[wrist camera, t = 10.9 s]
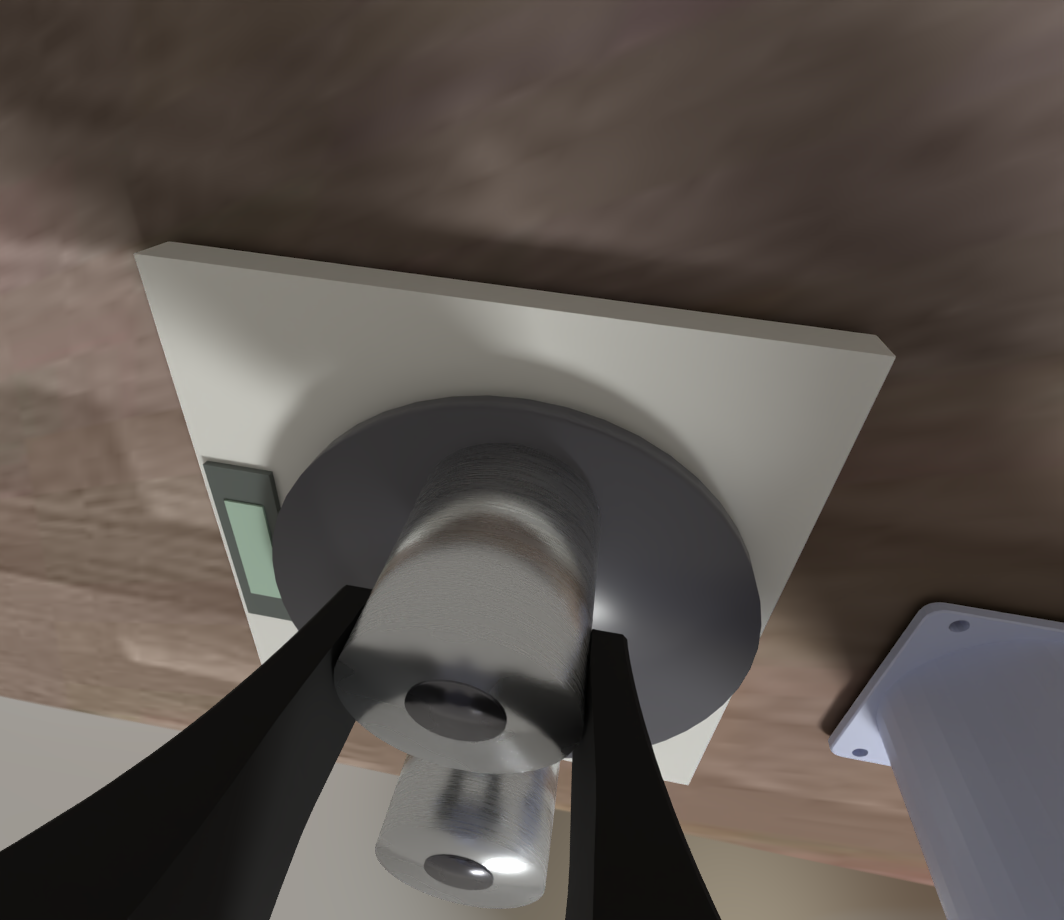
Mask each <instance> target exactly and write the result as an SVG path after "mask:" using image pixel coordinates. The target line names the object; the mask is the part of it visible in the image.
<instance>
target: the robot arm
mask: <svg viewBox="0 0 1064 920" xmlns="http://www.w3.org/2000/svg"><path fill="white" fill-rule="evenodd" d="M372 590H373V589H368V588H363V587H357V586H352V585H345V586H344V587H342V588H341V589H340V590H339V591H338V592H337V593H336V594H335V595H334V596H333V597H332V598H331V599H330V600H329V601H328V602H327V603H326V604H325V605H324V606H323V607H322V608H321V609H320V610H319V611H318V612H317V613H316V614H315V615H314V616H313V617H312V618H311V619H310V620H309V621H308V622H307V623H306V624H305V625H304V626H303V627H302V628H301V629H300V630H299V631H298V632H297V633H296V634H295V635H294V636H293V637H291V638H290V639H289V640H288V641H287V642H286V643H285V644H284V645H283V646H282V647H281V648H280V649H279V650H277V651H276V652H275V653H274V654H273V655H272V656H271V657H270V658H269V659H268V660H267V661H265V662H264V663H263V664H262V665H261V666H260V667H259V668H258V669H257V670H256V671H254V672H253V673H252V674H251V675H250V676H249V677H248V678H246V679H245V680H244V681H243V682H242V683H240V684H239V685H238V686H237V687H236V688H235V689H233V690H232V691H231V692H230V693H229V694H227V695H226V696H225V697H224V698H223V699H222V700H220V701H219V702H218V703H217V704H216V705H215V706H213V707H212V708H211V709H210V710H208V711H207V712H206V713H205V714H203V715H202V716H201V717H200V718H198V719H197V720H196V721H195V722H193V723H192V724H191V725H189V726H188V727H187V728H186V729H184V730H183V731H182V732H180V733H179V734H178V735H176V736H175V737H174V738H172V739H171V740H170V741H168V742H167V743H166V744H164V745H163V746H162V747H160V748H159V749H158V750H156V751H155V752H153V753H152V754H151V755H149V756H148V757H146V758H145V759H143V760H142V761H141V762H139V763H138V764H136V765H135V766H134V767H132V768H131V769H129V770H128V771H126V772H125V773H123V774H122V775H121V776H119V777H118V778H116V779H115V780H114V781H112V782H111V783H109V784H107V785H106V786H105V787H103V788H101V789H100V790H98V791H97V792H95V793H94V794H92V795H91V796H89V797H88V798H86V799H85V800H83V801H82V802H80V803H79V804H77V805H75V806H74V807H72V808H70V809H69V810H67V811H66V812H64V813H62V814H61V815H59V816H57V817H56V818H54V819H53V820H51V821H49V822H48V823H46V824H45V825H43V826H41V827H40V828H38V829H36V830H35V831H33V832H32V833H30V834H28V835H27V836H25V837H24V838H22V839H20V840H19V841H17V842H15V843H14V844H12V845H11V846H9V847H7V848H5V849H4V850H2V851H0V920H269V919H270V917H271V914H272V911H273V908H274V906H275V903H276V900H277V897H278V895H279V892H280V889H281V887H282V884H283V881H284V879H285V876H286V874H287V871H288V868H289V866H290V863H291V861H292V858H293V855H294V853H295V850H296V847H297V845H298V842H299V840H300V837H301V835H302V832H303V830H304V828H305V825H306V823H307V821H308V819H309V816H310V814H311V812H312V810H313V807H314V806H315V803H316V801H317V799H318V797H319V795H320V793H321V791H322V789H323V787H324V785H325V783H326V781H327V778H328V777H329V775H330V772H331V770H332V768H333V766H334V764H335V762H336V760H337V758H338V756H339V754H340V752H341V750H342V748H343V746H344V744H345V742H346V740H347V737H348V735H349V733H350V731H351V729H352V727H353V725H354V723H355V721H356V720H355V719H354V718H353V716H352V715H351V714H350V713H349V712H348V711H347V709H346V708H345V707H344V705H343V704H342V702H341V700H340V698H339V697H338V695H337V692H336V689H335V686H334V677H333V675H334V668H335V665H336V663H337V661H338V658H339V656H340V654H341V652H342V650H343V648H344V646H345V644H346V642H347V640H348V638H349V636H350V634H351V632H352V630H353V628H354V626H355V624H356V622H357V620H358V618H359V616H360V614H361V612H362V610H363V608H364V606H365V604H366V602H367V600H368V598H369V596H370V594H371V592H372ZM828 743H829V746H830V749H831V752H833V753H834V754H836V755H838V756H841V757H846V758H852V759H857V760H862V761H867V762H872V763H877V764H883V765H888V766H891V767H892V769H893V772H894V775H895V778H896V780H897V783H898V786H899V789H900V791H901V794H902V797H903V800H904V802H905V805H906V808H907V811H908V813H909V816H910V819H911V822H912V824H913V827H914V830H915V833H916V835H917V838H918V841H919V844H920V846H921V849H922V852H923V855H924V857H925V860H926V863H927V866H928V868H929V871H930V874H931V877H932V879H933V882H934V885H935V888H936V890H937V893H938V896H939V898H940V901H941V904H942V907H943V910H944V912H945V915H946V917H947V920H1064V623H1062V622H1056V621H1051V620H1045V619H1039V618H1033V617H1027V616H1021V615H1015V614H1009V613H1003V612H997V611H991V610H985V609H980V608H974V607H968V606H962V605H956V604H950V603H944V602H935V603H930V604H927V605H925V606H923V607H922V608H921V609H920V610H919V611H918V613H917V614H916V615H915V617H914V618H913V620H912V621H911V622H910V624H909V625H908V627H907V628H906V630H905V631H904V632H903V634H902V635H901V637H900V638H899V639H898V641H897V642H896V644H895V645H894V647H893V648H892V649H891V651H890V652H889V654H888V655H887V656H886V658H885V659H884V661H883V662H882V664H881V665H880V666H879V668H878V669H877V671H876V672H875V673H874V675H873V676H872V678H871V679H870V681H869V682H868V683H867V685H866V686H865V688H864V689H863V690H862V692H861V693H860V695H859V696H858V698H857V699H856V700H855V702H854V703H853V705H852V706H851V707H850V709H849V710H848V712H847V713H846V715H845V716H844V717H843V719H842V720H841V722H840V723H839V724H838V726H837V727H836V729H835V730H834V732H833V733H832V734H831V736H830V737H829V740H828ZM565 920H721V918H720V916H719V914H718V912H717V910H716V908H715V905H714V903H713V901H712V899H711V897H710V894H709V892H708V890H707V888H706V885H705V883H704V881H703V879H702V877H701V874H700V872H699V870H698V868H697V865H696V863H695V860H694V858H693V856H692V854H691V851H690V848H689V846H688V844H687V842H686V839H685V837H684V834H683V831H682V829H681V826H680V824H679V821H678V819H677V816H676V814H675V811H674V808H673V806H672V803H671V800H670V797H669V795H668V792H667V789H666V786H665V784H664V781H663V778H662V775H661V772H660V769H659V766H658V763H657V760H656V757H655V754H654V751H653V747H652V744H651V741H650V738H649V734H648V731H647V728H646V724H645V721H644V718H643V714H642V710H641V707H640V703H639V699H638V694H637V690H636V686H635V682H634V677H633V673H632V668H631V662H630V656H629V650H628V642H627V639H626V637H625V636H624V635H623V634H618V633H612V632H607V631H601V630H596V629H592V632H591V643H590V654H589V665H588V676H587V689H586V700H585V712H584V723H583V731H582V737H581V739H580V741H579V743H578V745H577V746H576V748H575V749H574V750H573V752H572V787H571V830H570V867H569V884H568V898H567V907H566V918H565Z"/></svg>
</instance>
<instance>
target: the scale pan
mask: <svg viewBox="0 0 1064 920" xmlns="http://www.w3.org/2000/svg"><path fill="white" fill-rule="evenodd" d="M485 443H510V444H518V445H523V446H527V447H531V448H534V449H537V450H540V451H543V452H545V453H547V454H549V455H551V456H553V457H555V458H557V459H559V460H560V461H562V462H564V463H565V464H567V465H568V466H569V467H570V468H572V469H573V470H574V471H575V472H576V473H577V474H578V475H579V476H581V477H582V478H583V480H584V481H585V482H586V483H587V485H588V486H589V487H590V489H591V490H592V492H593V494H594V496H595V497H596V500H597V503H598V505H599V509H600V514H601V534H600V545H599V556H598V567H597V578H596V590H595V601H594V612H593V623H592V629H596V630H601V631H607V632H612V633H618V634H623V635H624V636H625V637H626V639H627V642H628V650H629V656H630V662H631V668H632V673H633V677H634V682H635V686H636V690H637V694H638V699H639V703H640V707H641V710H642V714H643V718H644V721H645V724H646V728H647V731H648V734H649V738H650V741H651V744H652V745H654V744H657V743H660V742H663V741H666V740H668V739H670V738H672V737H674V736H677V735H679V734H681V733H683V732H685V731H687V730H689V729H691V728H692V727H694V726H695V725H697V724H699V723H700V722H702V721H704V720H705V719H707V718H708V717H709V716H710V715H712V714H713V713H714V712H715V711H716V710H718V709H719V708H720V707H721V706H723V705H724V704H725V703H726V701H727V700H728V699H729V698H730V697H731V696H732V695H733V694H734V692H735V691H736V690H737V689H738V688H739V686H740V685H741V683H742V681H743V680H744V678H745V676H746V675H747V673H748V672H749V670H750V668H751V665H752V663H753V660H754V657H755V655H756V652H757V649H758V644H759V638H760V632H761V626H762V625H761V604H760V597H759V593H758V588H757V584H756V580H755V576H754V572H753V568H752V564H751V560H750V556H749V552H748V550H747V548H746V546H745V543H744V541H743V539H742V537H741V535H740V532H739V530H738V528H737V526H736V525H735V523H734V522H733V520H732V519H731V517H730V516H729V514H728V513H727V512H726V510H725V509H724V507H723V506H722V504H721V503H720V501H719V500H718V499H717V498H716V497H715V496H714V495H713V494H712V493H711V492H710V491H709V489H708V488H707V487H706V486H705V485H704V484H703V483H702V482H701V481H700V480H699V479H698V478H697V477H696V476H695V475H694V474H692V473H691V472H690V471H689V470H688V469H686V468H685V467H684V466H683V465H681V464H680V463H679V462H678V461H677V460H675V459H674V458H673V457H672V456H670V455H669V454H667V453H666V452H664V451H662V450H661V449H659V448H658V447H656V446H654V445H653V444H651V443H650V442H648V441H646V440H645V439H643V438H642V437H640V436H638V435H636V434H634V433H632V432H630V431H628V430H625V429H623V428H621V427H619V426H617V425H615V424H613V423H610V422H608V421H606V420H604V419H601V418H598V417H595V416H592V415H589V414H586V413H583V412H580V411H577V410H574V409H571V408H568V407H564V406H559V405H555V404H550V403H545V402H540V401H535V400H531V399H523V398H512V397H501V396H490V395H485V396H451V397H445V398H439V399H432V400H426V401H419V402H415V403H411V404H408V405H405V406H401V407H398V408H395V409H391V410H388V411H385V412H382V413H380V414H378V415H376V416H374V417H372V418H370V419H367V420H365V421H363V422H361V423H359V424H357V425H355V426H354V427H352V428H351V429H349V430H348V431H347V432H345V433H344V434H342V435H341V436H339V437H338V438H336V439H335V440H333V441H332V442H331V443H330V444H329V445H328V446H327V447H326V448H325V449H324V450H323V451H322V452H321V453H320V454H319V455H318V456H317V457H316V458H315V459H314V460H313V461H312V463H311V464H310V465H309V466H308V467H307V468H306V470H305V471H304V472H303V473H302V474H301V475H300V477H299V478H298V480H297V481H296V483H295V484H294V485H293V487H292V488H291V490H290V491H289V493H288V494H287V496H286V498H285V500H284V502H283V505H282V507H281V509H280V512H279V514H278V516H277V520H276V525H275V530H274V534H273V544H272V562H273V568H274V574H275V580H276V584H277V587H278V590H279V593H280V596H281V599H282V602H283V604H284V606H285V608H286V610H287V612H288V614H289V616H290V618H291V620H292V622H293V624H294V625H295V627H296V628H297V630H298V631H299V630H300V629H301V628H302V627H303V626H304V625H305V624H306V623H307V622H308V621H309V620H310V619H311V618H312V617H313V616H314V615H315V614H316V613H317V612H318V611H319V610H320V609H321V608H322V607H323V606H324V605H325V604H326V603H327V602H328V601H329V600H330V599H331V598H332V597H333V596H334V595H335V594H336V593H337V592H338V591H339V590H340V589H341V588H342V587H344V586H345V585H352V586H357V587H363V588H368V589H373V588H374V586H375V584H376V582H377V580H378V578H379V576H380V574H381V572H382V570H383V568H384V566H385V564H386V562H387V560H388V558H389V556H390V554H391V552H392V550H393V548H394V546H395V543H396V541H397V539H398V537H399V535H400V533H401V531H402V529H403V527H404V525H405V523H406V521H407V519H408V517H409V515H410V513H411V511H412V509H413V507H414V505H415V503H416V501H417V499H418V497H419V495H420V493H421V491H422V489H423V487H424V485H425V483H426V481H427V479H428V477H429V475H430V474H431V472H432V471H433V469H434V468H435V467H436V466H437V465H438V464H439V463H440V462H441V461H442V460H444V459H445V458H446V457H448V456H449V455H451V454H453V453H455V452H456V451H458V450H461V449H464V448H466V447H469V446H474V445H478V444H485ZM566 758H572V752H571V753H570V754H569V755H568V756H567V757H566Z"/></svg>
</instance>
